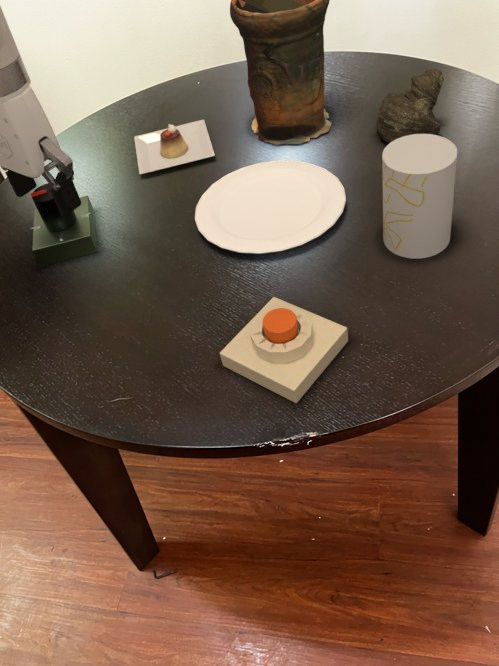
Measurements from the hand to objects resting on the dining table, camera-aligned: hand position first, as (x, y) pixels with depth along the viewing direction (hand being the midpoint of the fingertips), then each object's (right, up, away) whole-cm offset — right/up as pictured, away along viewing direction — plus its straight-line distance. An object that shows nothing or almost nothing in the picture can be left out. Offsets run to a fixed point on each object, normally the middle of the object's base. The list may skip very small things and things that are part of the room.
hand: (48, 200), depth 88 cm
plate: (+30, -1, +2) cm, 30 cm away
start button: (+30, -18, -19) cm, 40 cm away
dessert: (+15, +11, +17) cm, 26 cm away
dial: (+1, -2, +3) cm, 4 cm away
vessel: (+34, +16, +18) cm, 42 cm away
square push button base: (+31, -20, -16) cm, 40 cm away
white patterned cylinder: (+48, -6, -6) cm, 49 cm away
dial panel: (+1, -4, +5) cm, 7 cm away
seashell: (+49, +12, +10) cm, 52 cm away
